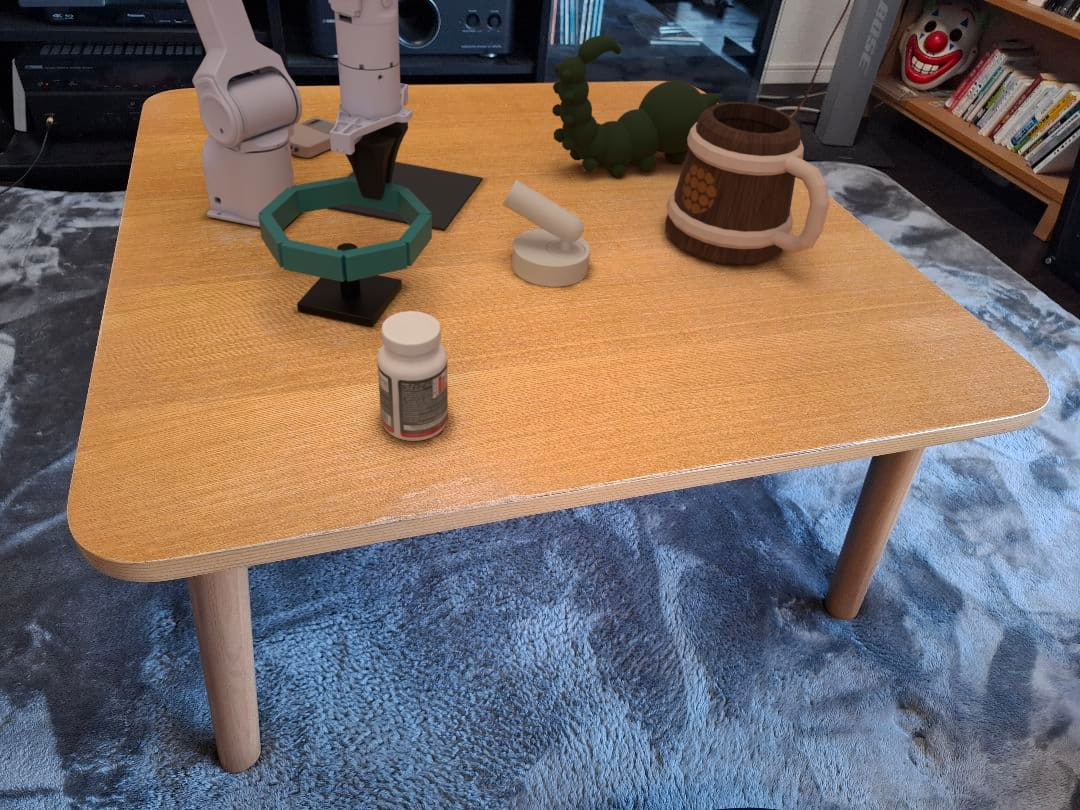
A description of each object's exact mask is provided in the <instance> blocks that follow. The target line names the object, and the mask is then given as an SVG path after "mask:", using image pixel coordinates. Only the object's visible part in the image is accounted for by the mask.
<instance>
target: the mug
mask: <svg viewBox="0 0 1080 810" xmlns="http://www.w3.org/2000/svg"><path fill="white" fill-rule="evenodd" d="M801 137H802V131H801V128H800V126H799V124H798V123H797V122H796V120H794V118H793V117H791V116H790V114H787V113H785V112H783V111H781V110H780V109H777V108H774V107H770V106H768V105H763V104H759V103H753V102H744V101H726V102H718V103H717V104H716V105H714V106H711V107H710V108H708V109H706V110H704V111H703V113H702V114H701V115H700V117H699V120H698V122H697V123H695V124H694V126H693V127H692V128H691V129H690V132H689V135H688V137H687V140H688V146H689V148H688V151H687V155H686V158H685V161H684V162H683V163H682V167H681V171H680V174H679V178H678V181H677V185H676V188H675V189H674V190H673V191H672V193H671V194H670V195H669V197H668V200H667V202H666V213H667V214H666V217H665V222H664V223H665V224H664V225H665V228H664V229H665V232H666V233H667V235H668V237H669V238H670V239H671V241H672V242H673V243H674V244H675V245H676V246H677V247H679V248H680V249H681V250H682V251H684V252H685V253H686V254H689V255H692V256H694V257H696V258H698V259H699V260H703V261H707V262H711V263H714V264H718V265H725V266H726V265H727V266H735V267H739V266H740V267H741V266H754V265H758V264H761V263H765V262H768V261H770V260H772V259H774V258H775V257H776V256H778V255H780V254H781V253H782V252H783V251H785V252H790V253H793V254H795V253H798V252H802V251H805V250H808V249H812V248H813V247H814V246H815V245H816V243H817V241H818V239H819V238H820V237H821V235H822V233H823V230H824V227H825V223H826V218H827V215H828V211H829V207H830V197H829V191H828V183H827V182H826V179H825V178H824V175H823V173H822V172H821V169H820V168H818V167H817V166H815V165H813V164H811V163H810V162H808V161H806V160H804V151H805V150H804V149H805V147H804V144H803V141H802V140H801ZM796 178H797V179H799V180H802V182H803V184H804V186H805V188H806V189H807V191H808V196H809V197H808V198H809V202H810V203H809V207H808V210H807V214H806V215H807V216H806V219H805V223H804V227H803V229H802V231H801V233H800V234H799V235H798V236H797V235H793V234H790V233H791V232H792V228H793V221H794V219H793V214H792V211H791V207H792V203H793V202H792V200H793V195H794V189H795V183H796Z"/></svg>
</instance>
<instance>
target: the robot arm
mask: <svg viewBox="0 0 1080 810" xmlns="http://www.w3.org/2000/svg"><path fill="white" fill-rule="evenodd" d="M327 2H328V4H330V8H331V10H332V11H334V23H335V24H334V25H335V37H336V51H337V67H338V68H337V69H338V79H339V94H340V104H339V105H338V109H337V115H336V119H335V122H336V123H335V126H334V128H333V129H332V130H331V131H330V143H331V149H330V151H331V152H333V153H337V154H343V155H344V154H345V156H346V158H347V160H348V162H349V164H350V166H351V169H352V172H353V171H354V174H355V177H356V180H357V183H358V186H359V189H360V192H361V195H362V197H364V198H369V199H374V200H381V199H382V198H383V194H384V189H385V183H389V184H391V181H392V176H393V171H394V166H395V162H397V161H396V160H397V156H398V154H399V150H400V147H401V144H402V142H403V140H404V137H405V136H406V133H407V132H408V130H409V121H410V120H411V119H413V110H412V109H411V108H406V107H405V106H406V105H407V104H409V84H407V83H401V63H400V30H399V29H400V27H399V0H328V1H327ZM186 3H187V6H188V9H189V12H190V14H191V16H192V19H193V22H194V24H195V27H196V29H197V32H198V34H199V38H200V40H201V42H202V45H203V48H204V50H205V53H206V55H205V56H204V58H203V60H202V62H201V64H200V65H199V66H198V69H197V70H196V72H195V74H194V75H193V78H192V81H191V82H192V84H193V86H194V89H195V92H196V96H197V101H198V111H199V112H198V113H199V116H200V119H201V122H202V124H203V127H204V128H205V131H206V132H207V133H208V134H209V135H208V136H207V138H206V139H205V141H204V142H203V147H202V150H201V151H202V153H201V168H202V171H203V177H204V182H205V188H206V193H207V199H208V204H209V210H207V212H206V215H207V217H208V218H213V219H218V220H223V221H227V222H232V223H237V224H243V225H249V226H253V227H259V228H260V224H259V217H258V215H259V212H260V211H261V210H262V209H264V208H265V207H266V206H267V205H268V204H269V203H270V202H271V201H273V200H274V199H275V198H276V197H277V196H278V195H279V194H281V193H282V192H283V191H284V190H285V189H286V188H287V187H289V188H291V186H293V185H296V184H295V173H294V166H293V157H292V154H291V147H290V139H289V138H290V137H291V136H292V135H294V126H293V125H295V124H298V123H299V122H300V120H301V117H302V114H303V103H302V96H301V92H300V90H299V88H298V86H297V85H296V83H295V82H294V80H293V79H292V78H291V76H290V74H289V73H288V71H287V69H286V67H285V64H284V61H283V59H282V56H281V55H280V54H279V53H277V52H275V51H274V50H272V49H270V48H269V47H267V46H265V45H263V44H262V43H260V42H259V41H258V40H257V39H256V36H255V34H254V31H253V28H252V25H251V23H250V19H249V17H248V13H247V11H246V9H245V4H244V3H243V0H186ZM246 73H251V74H253V75H250V76H246V77H244V78H239V79H237V80H233V81H230V80H231V79H232V78H234V77H236V76H239V75H243V74H246ZM294 220H295V219H293V220H292V221H294Z"/></svg>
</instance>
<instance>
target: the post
mask: <svg viewBox="0 0 1080 810" xmlns="http://www.w3.org/2000/svg"><path fill="white" fill-rule="evenodd" d="M356 248H359V247H358V245H357V244H354V243H350V242H345V243H341V244H339V245H337V247H336V249H337V250H342V251H346V250H351V249H356ZM402 287H403V283H402V279H400V278H395V277H390V276H385V275H382V274H380V275H376V276H371V277H367V278H363V279H358V280H354V281H349V282H348V281H347V280H346V279H345V280H344V281H343V282H341V281H336V280H331V279H326V278H321V277H319V279H318V280H317V281H316V282H314V284H313V285H312V286H311V287H310V288H309V289H308V290H307V292H306V293H305V294H304V295H303V296H302V297H301V298H300V299H299V301H298V302H297V303H296V308H297V312H298V313H302V314H303V313H304V314H307V315H311V316H316V317H321V318H326V319H330V320H334V321H335V320H336V321H340V322H346V323H349V324H354V325H359V326H364V327H369V328H373V327H374V325H375V324H376V323H377V321H378V320H379V319H380V318H381V316H382V315H383V313H384V312H385V311H386V309H387V308H389V305H390V304H391V303H392V301H393V300H394V299H395V298H396V296H397V295H398V293H399V292H400V291H401V289H403V288H402Z"/></svg>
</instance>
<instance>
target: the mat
mask: <svg viewBox="0 0 1080 810" xmlns="http://www.w3.org/2000/svg"><path fill="white" fill-rule="evenodd" d="M351 176H352V177H355V174H354V171H353V170H352V172H350V174H349V175H348V176H347V177H348V179H349V178H350V177H351ZM482 181H483V177H482V176H476V175H471V174H466V173H465V174H464V173H459V172H453V171H449V170H448V171H447V170H443V169H437V168H432V167H426V166H420V165H416V164H415V165H414V164H411V163H410V164H409V163H404V162H398V161H395V166H394V171H393V176H392V181H391V184H395V185H400V186H404V188H408V189H409V190H410V191H411V192H412V193H413V194H414V195H415V196H416V197H417V198H418V199H419V200H420V201H421V202H422V203H423V204H424V205H425V207H426V208H427V209H428V210H429V211H430V212H431V213H432V229H434V230H439V231H446V230H447V228H448V226H449V225H450V224H451V223H452V221H453V220H454V219H455V217H456V216H457V215H458V213H459V212H460V211H461V210H462V208H463V206H464V205H465V204H466V202H467V201H468V200H469V199H470V198H471V196H472V194H474V192H475V190H476V189H477V187H479V185H480V183H481V182H482ZM328 209H330V210H334V211H341V212H346V213H351V214H357V215H362V216H366V217H371V218H377V219H381V220H382V219H383V220H387V221H393V222H398V223H403V224H406V225H409V224H408V223H407V222H406V221H405V220H404V219H403V218H402V217H401V216H400V214H399V213H394V212H389V211H384V210H378V209H373V208H368V207H363V206H358V205H353V204H347V205H342V206H336V207H331V208H328Z"/></svg>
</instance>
